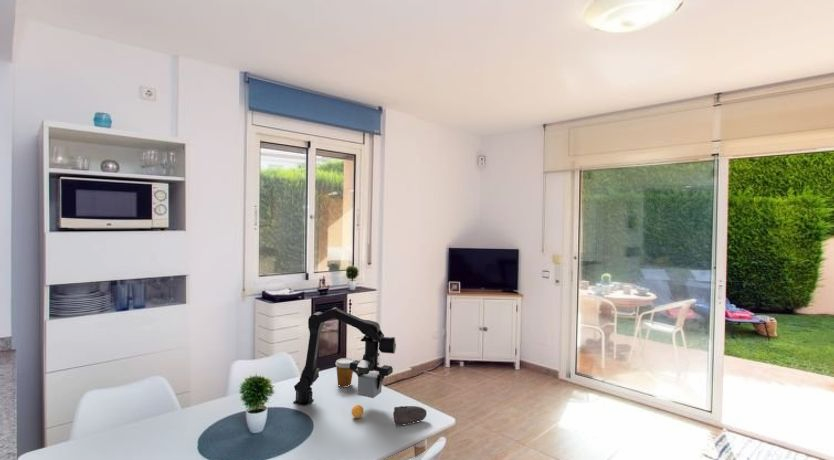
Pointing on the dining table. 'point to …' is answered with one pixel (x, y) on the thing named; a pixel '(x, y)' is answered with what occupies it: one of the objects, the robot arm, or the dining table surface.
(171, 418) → the dining table surface
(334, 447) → the dining table surface
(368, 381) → the grey cube
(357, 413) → the ball
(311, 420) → the dining table surface
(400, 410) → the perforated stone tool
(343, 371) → the disposable coffee cup
